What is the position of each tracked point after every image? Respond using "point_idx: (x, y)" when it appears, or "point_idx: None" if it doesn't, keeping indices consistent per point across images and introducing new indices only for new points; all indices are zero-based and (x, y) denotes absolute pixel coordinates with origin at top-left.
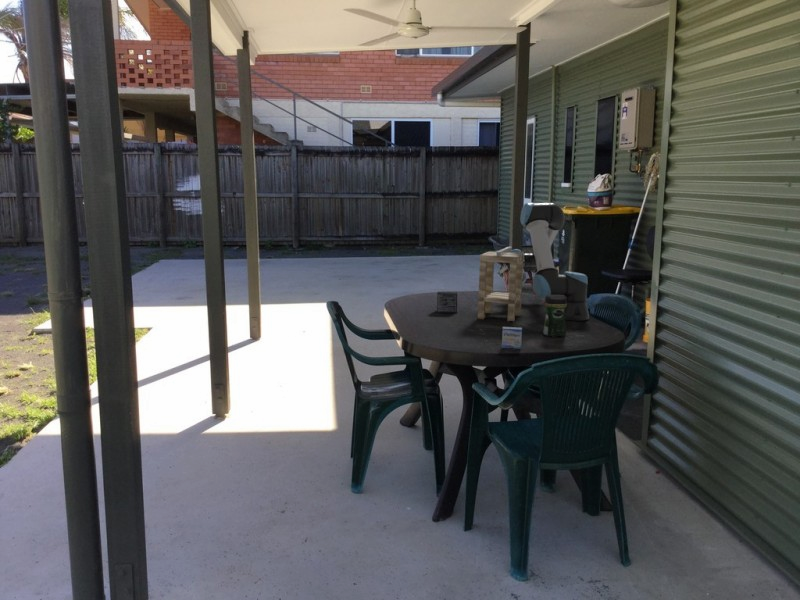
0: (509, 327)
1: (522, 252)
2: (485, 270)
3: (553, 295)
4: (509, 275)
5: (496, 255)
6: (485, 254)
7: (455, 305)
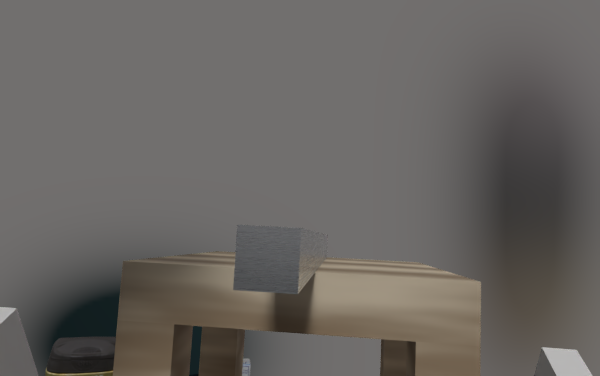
0: None
1: (12, 322)
2: (381, 348)
3: (100, 337)
4: (242, 357)
5: (326, 256)
6: (403, 263)
7: None
